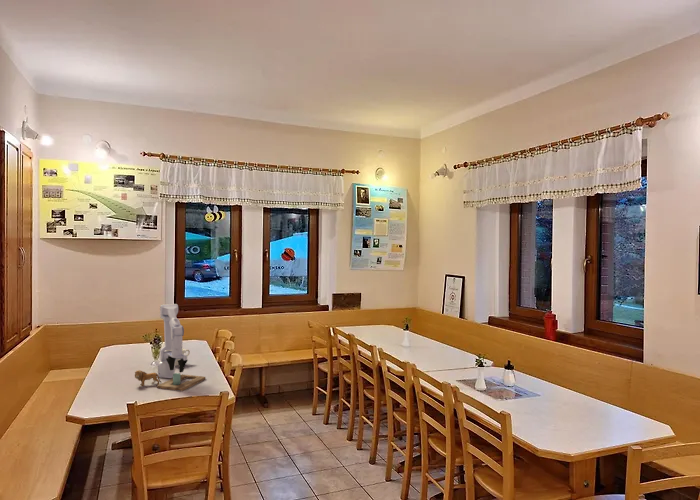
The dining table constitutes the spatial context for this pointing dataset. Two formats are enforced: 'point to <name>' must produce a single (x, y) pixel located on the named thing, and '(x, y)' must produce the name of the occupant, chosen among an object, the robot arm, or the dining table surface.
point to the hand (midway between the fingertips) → (176, 371)
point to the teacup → (182, 353)
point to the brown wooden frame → (184, 385)
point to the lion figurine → (146, 377)
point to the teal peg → (176, 379)
